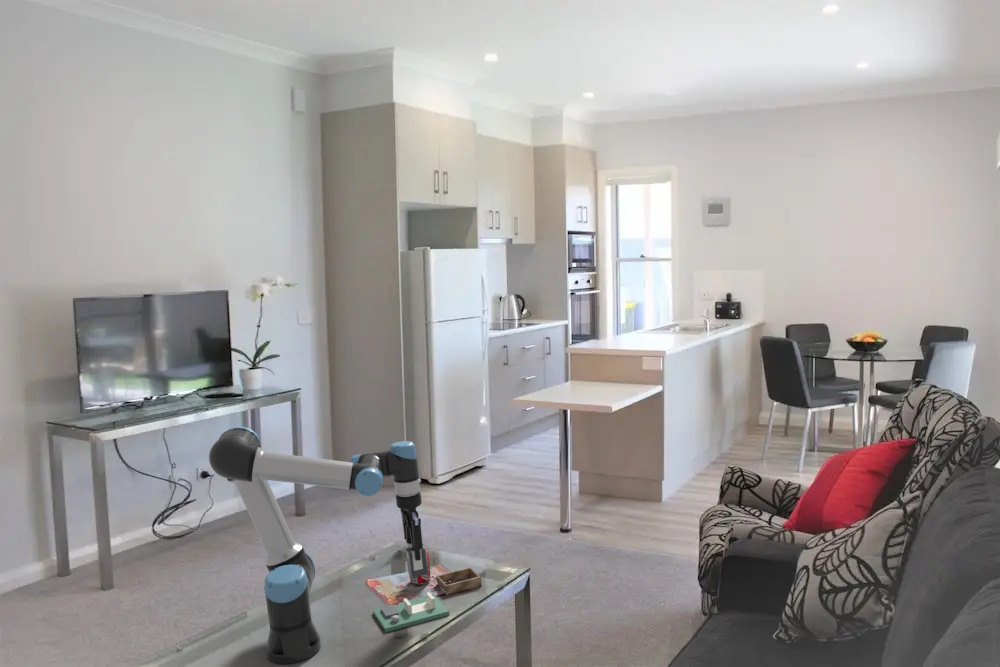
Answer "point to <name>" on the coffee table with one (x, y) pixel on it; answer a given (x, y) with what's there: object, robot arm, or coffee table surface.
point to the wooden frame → (457, 576)
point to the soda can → (424, 577)
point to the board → (410, 612)
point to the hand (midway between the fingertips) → (416, 566)
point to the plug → (410, 563)
